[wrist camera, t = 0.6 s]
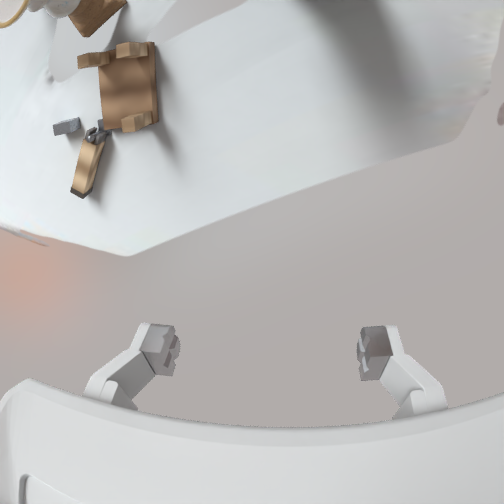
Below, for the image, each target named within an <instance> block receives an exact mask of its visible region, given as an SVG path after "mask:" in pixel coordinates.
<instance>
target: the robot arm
mask: <svg viewBox="0 0 504 504" xmlns="http://www.w3.org/2000/svg"><path fill="white" fill-rule="evenodd" d="M360 333H361V338H360V339H359V340H358V343H357V358H358V361H359V362H360V363H361V364H360V367H359V371H360V378H361V381H368V380H379V381H380V382H381V384H382V385H383V386H384V387H385V389H386V390H387V391H388V392H389V394H390V395H391V396H392V397H393V398H394V400H395V401H396V402H397V403H398V405H399V406H400V408H399V410H398V411H397V412H396V414H395V415H394V416H393V417H392V420H388V421H380V422H372V423H363V424H353V425H341V426H324V427H258V426H241V425H228V424H217V423H207V422H199V421H192V420H185V419H179V418H172V417H167V416H161V415H155V414H151V413H146V412H141V411H138V408H137V406H136V405H135V404H134V403H133V402H132V398H134V397H135V396H136V395H137V394H138V393H139V392H140V391H141V390H142V389H143V388H144V387H145V386H146V385H147V383H149V382H150V381H151V380H152V379H153V377H155V374H156V375H165V376H172V375H173V372H174V369H175V366H176V364H175V362H174V360H175V359H176V358H177V357H178V356H179V352H180V341H179V338H178V337H177V336H176V335H175V328H174V326H170V325H160V324H150V323H142V324H141V325H140V326H139V328H138V330H137V332H136V335H135V337H134V339H133V341H132V344H131V346H130V348H129V349H126V350H125V351H124V352H122V353H121V354H119V355H118V356H117V357H115V358H114V359H113V360H111V361H110V362H109V363H107V364H106V365H105V366H103V367H102V368H101V369H99V370H98V371H97V372H95V373H94V374H93V375H92V376H91V377H90V380H89V382H88V384H87V386H86V388H85V391H84V393H83V395H82V396H80V395H77V394H74V393H71V392H68V391H65V390H62V389H59V388H57V387H54V386H51V385H48V384H46V383H43V382H41V381H38V380H36V379H33V378H28V379H26V380H24V381H22V382H20V383H19V384H17V385H16V386H14V387H13V388H11V389H10V390H9V391H7V393H6V394H5V395H4V397H3V398H2V399H1V401H0V504H504V392H503V393H500V394H497V395H494V396H491V397H488V398H485V399H482V400H479V401H475V402H472V403H468V404H465V405H461V406H457V407H454V408H449V409H448V406H447V402H446V398H445V394H444V391H443V387H442V385H441V384H440V383H439V382H438V381H437V380H436V379H435V378H434V377H433V376H431V375H430V374H429V373H428V372H427V371H426V370H425V369H424V368H423V367H422V366H421V365H420V364H418V363H417V362H416V361H415V360H414V359H413V358H412V357H411V356H410V355H408V354H405V352H404V349H403V345H402V342H401V338H400V335H399V332H398V329H397V327H396V325H389V326H374V327H363V328H362V329H361V332H360Z"/></svg>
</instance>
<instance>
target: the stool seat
mask: <svg viewBox="0 0 504 504" xmlns="http://www.w3.org/2000/svg"><path fill="white" fill-rule="evenodd" d="M77 59H78V69H81V68H88V67H97V66H98V71H99V85H100V96H101V106H102V115H103V123H104V130H108V129H116V128H122V130H123V133H126V132H135V131H137V130H139V129H141V128H143V127H145V126H147V125H151V124H155V123H157V122H159V120H158V107H157V92H156V74H155V46H154V42H145V43H138V42H126V43H122V44H118V45H116V49H114V50H110V51H106V52H96V53H86V54H83V55H80V56H78V57H77Z"/></svg>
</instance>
